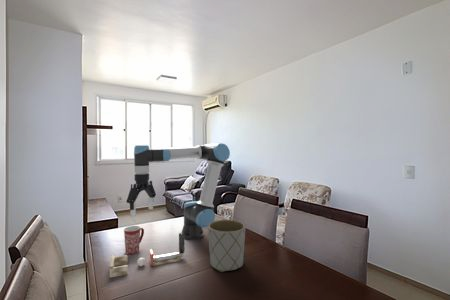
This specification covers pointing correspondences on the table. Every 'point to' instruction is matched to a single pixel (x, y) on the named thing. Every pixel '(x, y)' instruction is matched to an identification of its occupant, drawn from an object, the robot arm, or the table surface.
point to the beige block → (120, 269)
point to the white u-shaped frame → (171, 255)
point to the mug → (133, 239)
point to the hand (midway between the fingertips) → (142, 212)
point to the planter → (226, 244)
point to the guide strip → (166, 260)
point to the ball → (141, 261)
